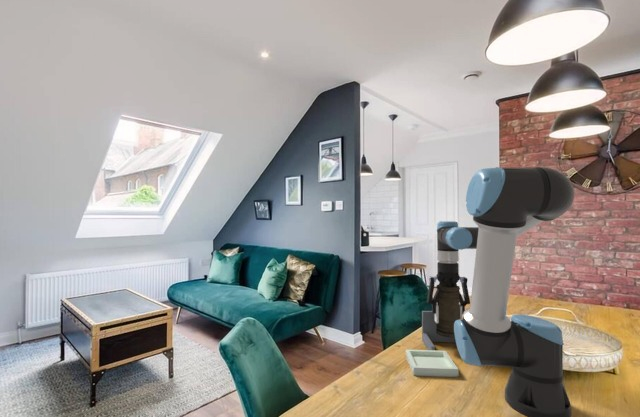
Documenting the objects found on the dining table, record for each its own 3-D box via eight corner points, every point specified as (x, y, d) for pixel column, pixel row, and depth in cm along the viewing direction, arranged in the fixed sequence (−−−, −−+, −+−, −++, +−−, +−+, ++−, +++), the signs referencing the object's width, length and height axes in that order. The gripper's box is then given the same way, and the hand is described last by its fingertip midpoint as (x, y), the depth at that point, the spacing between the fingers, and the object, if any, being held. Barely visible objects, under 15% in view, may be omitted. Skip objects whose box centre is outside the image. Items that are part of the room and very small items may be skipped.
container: (463, 338, 121) (463, 288, 121) (437, 337, 122) (437, 287, 123) (458, 330, 129) (458, 284, 130) (434, 329, 131) (434, 283, 132)
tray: (458, 377, 106) (458, 369, 106) (413, 375, 107) (413, 367, 107) (445, 357, 120) (445, 350, 120) (405, 356, 121) (405, 349, 121)
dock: (475, 357, 120) (475, 324, 120) (431, 356, 121) (431, 322, 121) (461, 341, 135) (460, 311, 135) (422, 340, 136) (422, 310, 136)
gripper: (472, 260, 130) (473, 320, 129) (417, 260, 131) (418, 318, 131) (480, 263, 122) (480, 326, 121) (422, 262, 124) (422, 324, 123)
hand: (448, 322), depth 126 cm, fingers closed on container, 8 cm apart
